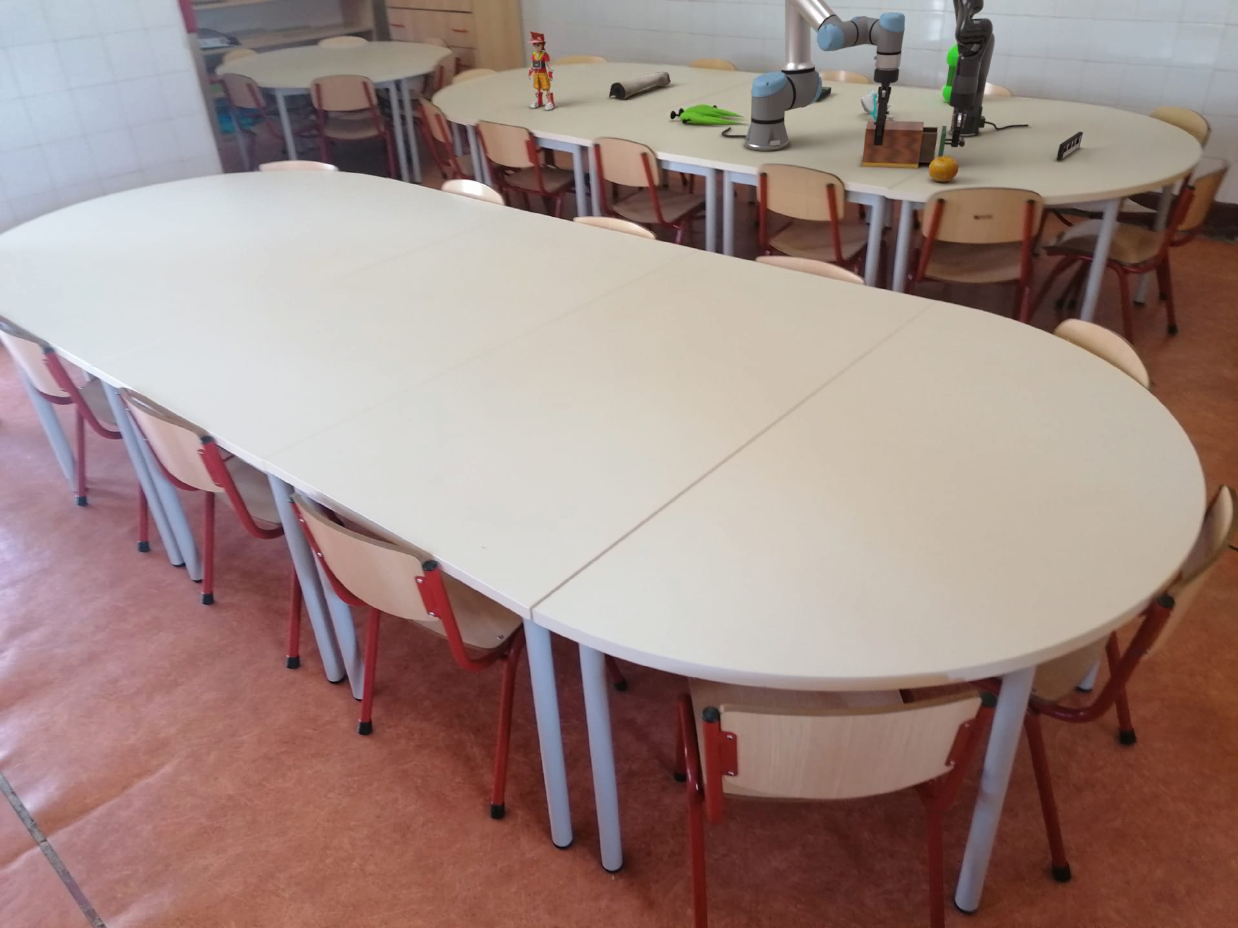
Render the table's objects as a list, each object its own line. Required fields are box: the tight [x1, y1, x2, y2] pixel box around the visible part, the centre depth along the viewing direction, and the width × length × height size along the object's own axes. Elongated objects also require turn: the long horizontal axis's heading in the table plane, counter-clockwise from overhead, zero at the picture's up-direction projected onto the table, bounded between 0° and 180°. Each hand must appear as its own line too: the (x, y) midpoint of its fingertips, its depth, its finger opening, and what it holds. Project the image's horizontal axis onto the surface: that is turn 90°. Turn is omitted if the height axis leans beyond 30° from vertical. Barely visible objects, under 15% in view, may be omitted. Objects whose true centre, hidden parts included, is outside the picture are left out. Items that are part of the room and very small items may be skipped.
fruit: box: [928, 155, 959, 183], centre depth 276 cm, size 8×8×8 cm
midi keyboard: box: [1056, 131, 1084, 161], centre depth 291 cm, size 18×1×5 cm, turn 138°
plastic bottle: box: [942, 43, 959, 104], centre depth 348 cm, size 10×10×25 cm
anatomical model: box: [860, 90, 895, 121], centre depth 340 cm, size 15×10×10 cm
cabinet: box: [861, 120, 925, 169], centre depth 293 cm, size 18×10×12 cm, turn 73°
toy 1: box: [527, 31, 556, 111], centre depth 374 cm, size 12×9×30 cm
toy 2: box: [669, 104, 746, 125], centre depth 349 cm, size 28×5×30 cm
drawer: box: [919, 125, 966, 164], centre depth 290 cm, size 23×9×10 cm, turn 73°
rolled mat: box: [608, 71, 672, 101], centre depth 395 cm, size 30×9×10 cm
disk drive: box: [815, 86, 832, 102], centre depth 372 cm, size 10×3×15 cm
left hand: (879, 140), depth 293 cm, fingers closed on cabinet, 10 cm apart
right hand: (954, 146), depth 288 cm, fingers closed
